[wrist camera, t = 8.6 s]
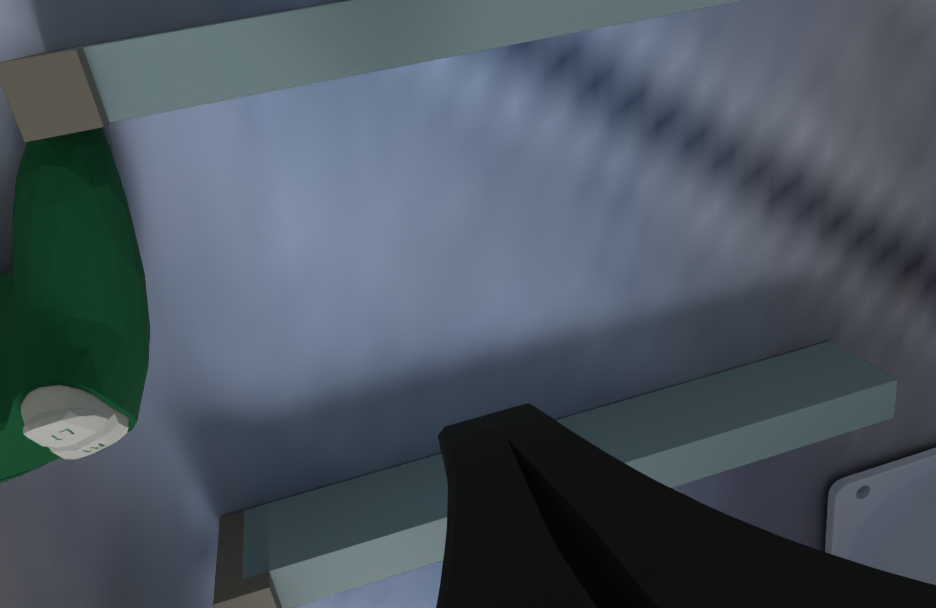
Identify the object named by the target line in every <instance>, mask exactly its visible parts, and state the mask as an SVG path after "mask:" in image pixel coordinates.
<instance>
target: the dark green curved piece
mask: <svg viewBox="0 0 936 608" xmlns="http://www.w3.org/2000/svg"><path fill="white" fill-rule="evenodd" d="M149 341H150V323H149V313H148V303H147V293H146V283H145V274H144V269H143V265H142V261H141V257H140V253H139V248H138V244H137V240H136V236H135V232H134V227H133V223H132V219H131V215H130V211H129V207H128V202H127V199H126V196H125V193H124V190H123V187H122V184H121V181H120V177H119V174H118V171H117V168H116V165H115V162H114V159H113V156H112V153H111V150H110V148H109V145H108V143H107V141H106V139H105V137H104V134H103V132H102V130H101V128H96V129H91V130H86V131H81V132H75V133H70V134H65V135H60V136H55V137H50V138H44V139H39V140H34V141H29V142H27V144H26V147H25V151H24V154H23V157H22V160H21V163H20V167H19V171H18V174H17V179H16V188H15V197H14V206H13V267H12V269H11V270H10V271H9V272H7V273H3V274H0V483H1V482H4V481H7V480H10V479H13V478H16V477H19V476H21V475H23V474H25V473H28V472H30V471H32V470H34V469H36V468H39V467H41V466H43V465H45V464H47V463H48V462H51V461H53V460H55V459H57V458H60V457H62V458H64V459H79V458H82V457H85V456H88V455H91V454H93V453H95V452H97V451H99V450H101V449H103V448H105V447H107V446H109V445H111V444H113V443H115V442H117V441H118V440H120V439H121V438H122V437H123V436H125V435H126V434H127V432H129V431H131V430H132V429H133V427H134V426H135V424H136V422H137V419H138V414H139V409H140V404H141V399H142V394H143V389H144V384H145V379H146V374H147V369H148V361H149Z"/></svg>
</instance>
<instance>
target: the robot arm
mask: <svg viewBox="0 0 936 608" xmlns="http://www.w3.org/2000/svg"><path fill="white" fill-rule="evenodd" d="M438 439H439V443H440V448H441V453H442V458H443V462H444V467H445V472H446V477H447V484H448V499H447V530H446V541H445V549H444V558H443V567H442V576H441V583H440V589H439V595H438V601H437V607H436V608H936V448H933V449H930V450H926V451H923V452H920V453H917V454H914V455H911V456H908V457H905V458H902V459H899V460H896V461H893V462H890V463H887V464H884V465H881V466H878V467H874V468H871V469H868V470H865V471H862V472H859V473H856V474H853V475H850V476H847V477H844V478H841V479H839V480H837V481H836V482H835V483H834V484H833V485H832V486H831V488H830V490H829V494H828V508H827V525H826V543H825V552H823V551H820V550H817V549H814V548H811V547H808V546H805V545H803V544H800V543H797V542H794V541H791V540H789V539H786V538H783V537H781V536H778V535H775V534H773V533H770V532H768V531H766V530H763V529H761V528H758V527H756V526H753V525H751V524H748V523H746V522H743V521H741V520H739V519H736V518H734V517H731V516H729V515H726V514H724V513H722V512H720V511H717V510H715V509H713V508H711V507H708V506H706V505H704V504H702V503H700V502H698V501H696V500H694V499H692V498H690V497H688V496H686V495H684V494H682V493H680V492H678V491H676V490H674V489H672V488H670V487H668V486H666V485H664V484H662V483H660V482H658V481H656V480H654V479H652V478H650V477H648V476H647V475H645V474H643V473H641V472H639V471H637V470H636V469H634V468H632V467H631V466H629V465H627V464H625V463H624V462H622V461H620V460H618V459H617V458H615V457H613V456H612V455H610V454H608V453H607V452H605V451H603V450H602V449H600V448H598V447H597V446H595V445H593V444H592V443H590V442H589V441H587V440H586V439H584V438H582V437H581V436H579V435H578V434H576V433H574V432H573V431H571V430H570V429H568V428H567V427H565V426H564V425H562V424H560V423H559V422H557V421H556V420H554V419H553V418H551V417H550V416H548V415H547V414H545V413H543V412H542V411H540V410H539V409H537V408H535V407H534V406H532V405H531V404H529V403H528V404H524V405H521V406H517V407H513V408H510V409H506V410H503V411H499V412H496V413H492V414H488V415H485V416H481V417H478V418H474V419H471V420H467V421H464V422H460V423H456V424H453V425H449V426H446V427H444V428H443V430H442V431H441V433H440V434H439V435H438Z"/></svg>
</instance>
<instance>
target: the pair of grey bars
mask: <svg viewBox="0 0 936 608" xmlns="http://www.w3.org/2000/svg"><path fill="white" fill-rule="evenodd" d="M736 1H742V0H343V1H337V2H332V3H326V4H320V5H314V6H309V7H303V8H297V9H292V10H286V11H280V12H274V13H269V14H263V15H257V16H251V17H246V18H240V19H234V20H229V21H223V22H217V23H211V24H206V25H200V26H194V27H189V28H183V29H177V30H171V31H166V32H160V33H154V34H149V35H143V36H137V37H131V38H126V39H120V40H114V41H109V42H103V43H97V44H91V45H86V46H80V47H74V48H68V49H63V50H57V51H51V52H46V53H41V54H36V55H32V56H27V57H22V58H18V59H13V60H8V61H4V62H0V83H1V85H2V88H3V90H4V93H5V95H6V98H7V100H8V102H9V105H10V107H11V110H12V112H13V115H14V117H15V120H16V122H17V125H18V127H19V129H20V132H21V134H22V137H23V139H24V142H29V141H34V140H39V139H44V138H50V137H55V136H60V135H65V134H70V133H75V132H81V131H86V130H91V129H96V128H101V127H104V126H106V125H107V124H108V123H110V122H115V121H120V120H125V119H131V118H136V117H141V116H146V115H151V114H156V113H162V112H167V111H172V110H177V109H182V108H188V107H193V106H198V105H203V104H208V103H213V102H219V101H224V100H229V99H234V98H239V97H245V96H250V95H255V94H260V93H265V92H270V91H276V90H281V89H286V88H291V87H296V86H301V85H307V84H312V83H317V82H322V81H327V80H333V79H338V78H343V77H348V76H353V75H358V74H364V73H369V72H374V71H379V70H384V69H390V68H395V67H400V66H405V65H410V64H415V63H421V62H426V61H431V60H436V59H441V58H446V57H452V56H457V55H462V54H467V53H472V52H478V51H483V50H488V49H493V48H498V47H503V46H509V45H514V44H519V43H524V42H529V41H534V40H540V39H545V38H550V37H555V36H560V35H566V34H571V33H576V32H581V31H586V30H591V29H597V28H602V27H607V26H612V25H617V24H623V23H628V22H633V21H638V20H643V19H648V18H654V17H659V16H664V15H669V14H674V13H679V12H685V11H690V10H695V9H700V8H705V7H711V6H716V5H721V4H726V3H731V2H736ZM897 383H898V379H896V378H894V377H892V376H891V375H889V374H887V373H886V372H884V371H882V370H881V369H879V368H877V367H875V366H874V365H872V364H870V363H869V362H867V361H865V360H863V359H862V358H860V357H858V356H857V355H855V354H853V353H852V352H850V351H848V350H846V349H845V348H843V347H841V346H840V345H838V344H836V343H834V342H833V341H828V342H824V343H821V344H817V345H814V346H810V347H807V348H803V349H800V350H796V351H793V352H789V353H786V354H783V355H779V356H776V357H772V358H769V359H765V360H762V361H758V362H755V363H751V364H748V365H744V366H741V367H738V368H734V369H731V370H727V371H724V372H720V373H717V374H713V375H710V376H706V377H703V378H700V379H696V380H693V381H689V382H686V383H682V384H679V385H675V386H672V387H668V388H665V389H661V390H658V391H655V392H651V393H648V394H644V395H641V396H637V397H634V398H630V399H627V400H623V401H620V402H616V403H613V404H610V405H606V406H603V407H599V408H596V409H592V410H589V411H585V412H582V413H578V414H575V415H572V416H568V417H565V418H561V419H558V420H556V421H557V422H559V423H560V424H562V425H564V426H565V427H567V428H568V429H570V430H571V431H573V432H574V433H576V434H578V435H579V436H581V437H582V438H584V439H586V440H587V441H589V442H590V443H592V444H593V445H595V446H597V447H598V448H600V449H602V450H603V451H605V452H607V453H608V454H610V455H612V456H613V457H615V458H617V459H618V460H620V461H622V462H624V463H625V464H627V465H629V466H631V467H632V468H634V469H636V470H637V471H639V472H641V473H643V474H645V475H647V476H648V477H650V478H652V479H654V480H656V481H658V482H660V483H662V484H664V485H666V486H668V487H670V488H674V487H677V486H680V485H683V484H686V483H689V482H693V481H696V480H699V479H702V478H705V477H708V476H712V475H715V474H718V473H721V472H724V471H727V470H731V469H734V468H737V467H740V466H743V465H747V464H750V463H753V462H756V461H759V460H762V459H766V458H769V457H772V456H775V455H778V454H781V453H785V452H788V451H791V450H794V449H797V448H800V447H804V446H807V445H810V444H813V443H816V442H819V441H823V440H826V439H829V438H832V437H835V436H838V435H842V434H845V433H848V432H851V431H854V430H858V429H861V428H864V427H867V426H870V425H873V424H877V423H880V422H883V421H886V420H889V419H892V418H894V413H895V403H896V393H897ZM447 499H448V484H447V477H446V472H445V467H444V462H443V458H442V453H440V454H437V455H433V456H430V457H426V458H423V459H419V460H416V461H412V462H409V463H405V464H402V465H399V466H395V467H392V468H388V469H385V470H381V471H378V472H374V473H371V474H367V475H364V476H361V477H357V478H354V479H350V480H347V481H343V482H340V483H336V484H333V485H329V486H326V487H322V488H319V489H316V490H312V491H309V492H305V493H302V494H298V495H295V496H291V497H288V498H284V499H281V500H278V501H274V502H271V503H267V504H264V505H260V506H257V507H253V508H250V509H246V510H243V511H239V512H236V513H233V514H229V515H226V516H222V517H220V526H219V538H218V551H217V564H216V576H215V589H214V601H213V605H214V608H293V607H296V606H299V605H302V604H306V603H309V602H312V601H315V600H318V599H321V598H325V597H328V596H331V595H334V594H337V593H340V592H344V591H347V590H350V589H353V588H356V587H360V586H363V585H366V584H369V583H372V582H375V581H379V580H382V579H385V578H388V577H391V576H394V575H398V574H401V573H404V572H407V571H410V570H413V569H417V568H420V567H423V566H426V565H429V564H432V563H436V562H439V561H442V560H443V558H444V549H445V541H446V530H447Z"/></svg>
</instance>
